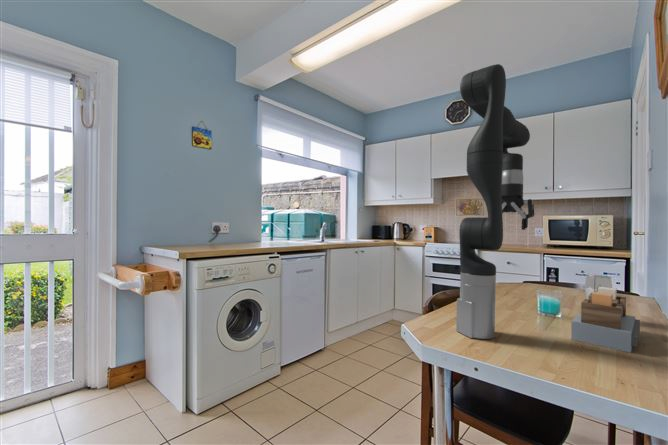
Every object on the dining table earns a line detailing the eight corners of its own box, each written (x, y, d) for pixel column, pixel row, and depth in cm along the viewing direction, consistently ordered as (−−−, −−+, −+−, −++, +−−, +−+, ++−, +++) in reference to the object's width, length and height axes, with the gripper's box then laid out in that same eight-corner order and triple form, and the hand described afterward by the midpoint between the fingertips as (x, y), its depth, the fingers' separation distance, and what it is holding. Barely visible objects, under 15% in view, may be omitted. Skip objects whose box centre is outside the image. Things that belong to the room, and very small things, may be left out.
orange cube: (611, 311, 82) (611, 296, 82) (591, 308, 85) (591, 293, 85) (612, 308, 85) (612, 294, 85) (593, 305, 88) (593, 291, 88)
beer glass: (617, 323, 102) (618, 278, 102) (595, 323, 102) (596, 277, 102) (599, 317, 109) (600, 274, 109) (579, 316, 109) (580, 274, 109)
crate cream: (615, 304, 91) (615, 290, 91) (597, 301, 94) (597, 288, 94) (616, 301, 94) (616, 288, 94) (599, 299, 97) (599, 286, 97)
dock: (636, 354, 77) (636, 333, 77) (571, 339, 86) (571, 321, 86) (639, 334, 92) (640, 317, 92) (583, 323, 101) (584, 308, 101)
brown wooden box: (620, 330, 79) (620, 308, 79) (581, 322, 85) (581, 302, 85) (625, 315, 94) (626, 297, 94) (591, 309, 99) (591, 292, 99)
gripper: (537, 183, 107) (536, 230, 107) (493, 186, 118) (492, 229, 117) (531, 180, 102) (530, 230, 102) (485, 184, 112) (484, 228, 112)
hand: (509, 229), depth 110 cm, fingers open, 8 cm apart
